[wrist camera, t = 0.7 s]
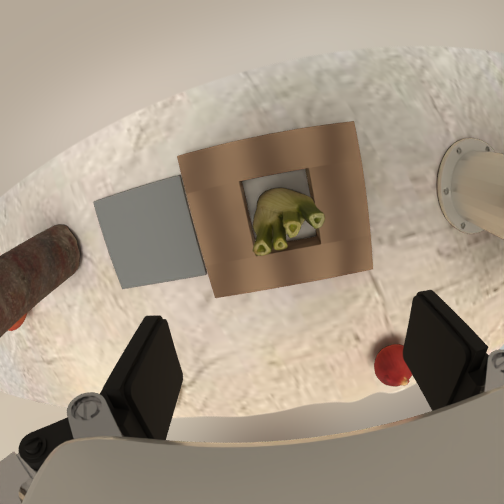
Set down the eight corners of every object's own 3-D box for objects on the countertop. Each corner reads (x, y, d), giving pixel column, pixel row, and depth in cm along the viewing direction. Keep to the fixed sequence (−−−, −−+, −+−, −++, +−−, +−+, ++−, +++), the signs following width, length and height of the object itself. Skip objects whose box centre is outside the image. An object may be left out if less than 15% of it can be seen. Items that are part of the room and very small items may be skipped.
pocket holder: (346, 123, 28) (354, 121, 26) (365, 259, 34) (373, 269, 31) (184, 155, 31) (177, 156, 28) (219, 286, 36) (215, 298, 33)
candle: (94, 256, 35) (-7, 336, 16) (69, 283, 37) (-18, 361, 18) (62, 213, 33) (-50, 268, 15) (40, 244, 35) (-56, 304, 16)
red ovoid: (389, 367, 39) (405, 403, 32) (361, 359, 39) (375, 397, 31) (411, 338, 37) (432, 372, 30) (383, 328, 37) (402, 365, 29)
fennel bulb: (306, 184, 31) (328, 205, 20) (306, 228, 33) (326, 270, 21) (252, 186, 31) (244, 207, 20) (255, 229, 33) (248, 272, 22)
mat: (180, 174, 31) (179, 175, 31) (207, 272, 35) (206, 274, 35) (95, 201, 33) (93, 202, 32) (124, 287, 37) (122, 289, 36)
